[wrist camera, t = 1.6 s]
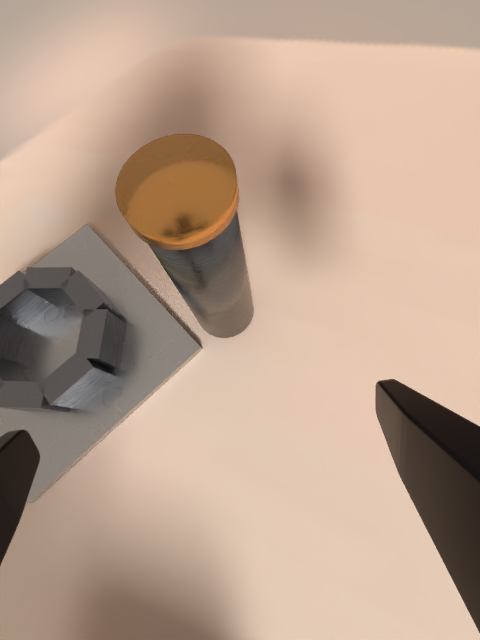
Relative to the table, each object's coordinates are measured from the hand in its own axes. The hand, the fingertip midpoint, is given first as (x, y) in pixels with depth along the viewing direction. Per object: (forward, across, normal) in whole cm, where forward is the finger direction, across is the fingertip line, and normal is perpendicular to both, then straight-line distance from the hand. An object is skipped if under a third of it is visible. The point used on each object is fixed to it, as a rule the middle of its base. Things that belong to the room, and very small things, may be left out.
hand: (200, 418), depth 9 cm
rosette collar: (+15, +12, +5) cm, 20 cm away
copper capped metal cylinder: (+16, 0, +4) cm, 16 cm away
